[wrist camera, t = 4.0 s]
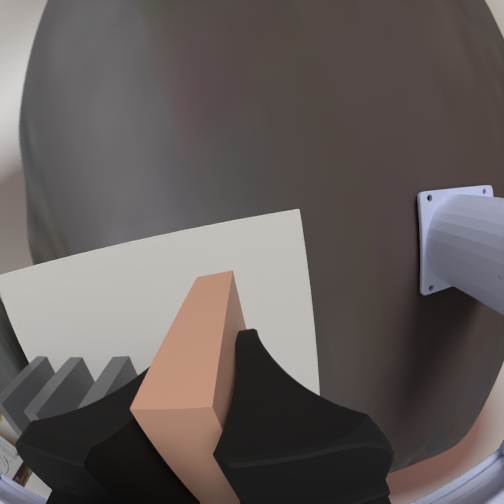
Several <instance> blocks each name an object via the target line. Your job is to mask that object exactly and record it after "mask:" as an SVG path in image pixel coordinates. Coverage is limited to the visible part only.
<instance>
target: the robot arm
mask: <svg viewBox="0 0 504 504" xmlns="http://www.w3.org/2000/svg"><path fill="white" fill-rule="evenodd" d="M428 195H429V201H428V200H427V197H428ZM417 202H418V214H419V230H420V293H421V294H423V295H428V294H431V293H434V292H437V291H440V290H443V289H446V288H449V287H452V286H454V287H456V288H458V289H459V290H461V291H463V292H465V293H466V294H468V295H470V296H472V297H474V298H475V299H477V300H479V301H480V302H482V303H484V304H486V305H487V306H489V307H491V308H492V309H494V310H496V311H497V312H499V313H501V314H502V315H504V198H498V197H493V190H492V187H491V186H490V185H483V186H472V187H461V188H451V189H442V190H433V191H424V192H420V193H419V194H418V196H417ZM430 286H431V288H430V289H429V287H430ZM235 352H236V367H237V369H236V380H235V386H234V392H233V397H232V401H231V406H230V410H229V413H228V416H227V420H226V423H225V426H224V429H223V431H222V434H221V436H220V439H219V441H218V444H217V446H216V448H215V450H214V452H213V456H214V458H215V460H216V462H217V463H218V465H219V467H220V469H221V470H222V472H223V474H224V476H225V477H226V479H227V481H228V482H229V484H230V486H231V487H232V489H233V491H234V492H235V494H236V495H237V497H238V498H239V500H240V504H391V502H390V500H389V498H388V495H389V494H390V490H389V487H388V485H387V483H386V480H385V479H386V477H387V475H388V472H389V470H390V467H391V465H392V462H393V457H394V452H393V450H392V447H391V445H390V443H389V441H388V440H387V438H386V437H385V435H384V434H383V433H382V431H381V430H380V429H379V427H378V426H377V425H376V424H375V423H374V421H373V420H372V419H371V418H370V417H369V416H368V415H367V414H364V413H360V412H357V411H354V410H351V409H348V408H345V407H342V406H339V405H337V404H335V403H332V402H330V401H328V400H326V399H324V398H323V397H321V396H319V395H317V394H316V393H314V392H312V391H311V390H309V389H307V388H306V387H304V386H303V385H302V384H300V383H299V382H297V381H296V380H295V379H294V378H292V377H291V376H290V375H289V374H288V373H287V372H286V371H285V370H284V369H282V368H281V366H280V365H279V364H278V363H277V362H276V361H275V360H274V359H273V358H272V356H271V355H270V354H269V352H268V351H267V350H266V348H265V347H264V345H263V344H262V342H261V340H260V338H259V336H258V332H257V330H255V329H254V328H253V329H246V330H240V331H238V334H237V337H236V342H235ZM149 368H150V367H148V368H147V369H146V370H145V371H143V372H142V373H141V374H139V375H138V376H137V377H136V378H134V379H133V380H132V381H130V382H129V383H127V384H126V385H124V386H123V387H121V388H119V389H118V390H116V391H115V392H113V393H111V394H109V395H107V396H105V397H103V398H101V399H99V400H97V401H95V402H93V403H91V404H89V405H87V406H84V407H82V408H79V409H76V410H73V411H70V412H67V413H64V414H61V415H57V416H53V417H48V418H44V419H39V420H33V421H32V422H31V423H30V424H29V425H28V426H27V428H26V429H25V430H24V432H23V433H22V434H21V436H20V437H19V439H18V440H17V441H16V443H15V447H16V450H17V453H18V455H19V456H20V458H21V459H22V460H23V461H24V463H25V464H26V465H27V466H28V467H29V468H30V469H31V470H32V471H33V472H34V473H35V474H36V475H37V476H38V477H39V478H40V479H41V480H42V481H43V482H44V483H45V484H46V485H47V486H49V487H50V488H51V489H52V492H51V494H50V496H49V498H48V500H47V499H45V498H43V497H41V496H39V495H37V494H35V493H33V492H31V491H30V490H28V489H26V488H24V487H23V486H21V485H19V484H18V483H16V482H14V481H13V480H11V479H9V478H8V477H6V476H5V475H3V474H2V473H1V471H0V504H200V501H199V500H198V499H197V498H196V497H195V496H194V495H193V494H192V493H191V492H190V490H189V489H188V488H187V487H186V486H185V485H184V484H183V482H182V481H181V480H180V479H179V478H178V477H177V475H176V474H175V473H174V472H173V470H172V469H171V468H170V467H169V465H168V464H167V463H166V461H165V460H164V459H163V458H162V456H161V455H160V454H159V452H158V451H157V449H156V448H155V447H154V445H153V444H152V442H151V441H150V440H149V438H148V437H147V435H146V434H145V432H144V431H143V429H142V428H141V426H140V425H139V423H138V422H137V420H136V418H135V417H134V415H133V414H132V412H131V410H130V407H131V405H132V403H133V401H134V399H135V397H136V395H137V393H138V390H139V388H140V386H141V384H142V382H143V380H144V378H145V376H146V374H147V372H148V370H149ZM409 504H504V440H503V442H502V444H501V445H500V448H499V449H498V450H497V451H495V452H494V453H493V454H491V455H490V456H489V457H487V458H486V459H485V460H483V461H482V462H480V463H479V464H478V465H476V466H475V467H473V468H472V469H470V470H469V471H467V472H466V473H464V474H463V475H461V476H459V477H458V478H456V479H455V480H453V481H451V482H450V483H448V484H446V485H444V486H443V487H441V488H439V489H437V490H435V491H434V492H432V493H430V494H428V495H426V496H424V497H422V498H419V499H417V500H415V501H413V502H411V503H409Z"/></svg>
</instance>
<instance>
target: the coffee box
mask: <svg viewBox="0 0 504 504" xmlns="http://www.w3.org/2000/svg"><path fill="white" fill-rule="evenodd" d="M18 439H19V436H18V435H17V434H16V432H15V431H14V430H13V428H12V427H11V426H10V424H9V423H8V422H7V420H6V419H5V418H4V416H3V415H2V413H1V412H0V471H1V473H2V474H3V475H5V476H6V477H8V478H9V479H11V480H13V481H14V482H16V483H18V484H19V485H21V486H23V487H24V486H25V484H26V483H27V481H28V479H29V477H30V476H31V474H32V472H33V471H32V470H31V469H30V468H29V467H28V466H27V465H26V464H25V463H24V461H23V460H22V459H21V458H20V456H19V455H18V453H17V450H16V447H15V443H16V441H17V440H18Z"/></svg>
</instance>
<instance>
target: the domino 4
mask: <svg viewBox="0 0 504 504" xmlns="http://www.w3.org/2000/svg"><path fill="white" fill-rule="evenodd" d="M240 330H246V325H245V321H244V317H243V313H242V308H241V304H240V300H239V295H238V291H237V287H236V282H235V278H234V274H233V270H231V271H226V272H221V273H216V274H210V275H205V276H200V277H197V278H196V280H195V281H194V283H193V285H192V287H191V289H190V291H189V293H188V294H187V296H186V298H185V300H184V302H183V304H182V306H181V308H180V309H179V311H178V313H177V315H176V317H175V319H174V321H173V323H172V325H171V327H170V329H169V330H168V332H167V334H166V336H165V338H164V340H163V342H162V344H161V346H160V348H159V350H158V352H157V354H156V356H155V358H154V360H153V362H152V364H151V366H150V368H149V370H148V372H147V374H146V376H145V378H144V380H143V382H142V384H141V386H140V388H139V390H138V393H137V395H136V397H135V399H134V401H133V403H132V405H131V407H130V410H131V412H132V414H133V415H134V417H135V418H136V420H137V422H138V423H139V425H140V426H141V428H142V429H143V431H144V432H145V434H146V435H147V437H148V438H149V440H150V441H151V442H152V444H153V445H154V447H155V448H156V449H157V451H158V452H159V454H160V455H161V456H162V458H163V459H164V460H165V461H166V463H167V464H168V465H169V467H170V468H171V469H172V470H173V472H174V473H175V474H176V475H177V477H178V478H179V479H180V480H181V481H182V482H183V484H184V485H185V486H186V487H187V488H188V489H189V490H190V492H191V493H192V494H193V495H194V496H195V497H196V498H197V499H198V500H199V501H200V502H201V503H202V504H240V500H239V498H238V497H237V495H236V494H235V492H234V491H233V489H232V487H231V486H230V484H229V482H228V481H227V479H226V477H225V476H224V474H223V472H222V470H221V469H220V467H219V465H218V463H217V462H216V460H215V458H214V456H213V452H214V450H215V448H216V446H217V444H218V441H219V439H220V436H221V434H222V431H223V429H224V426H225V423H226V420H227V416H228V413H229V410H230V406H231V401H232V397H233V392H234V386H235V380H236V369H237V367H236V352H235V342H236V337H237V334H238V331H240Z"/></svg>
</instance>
